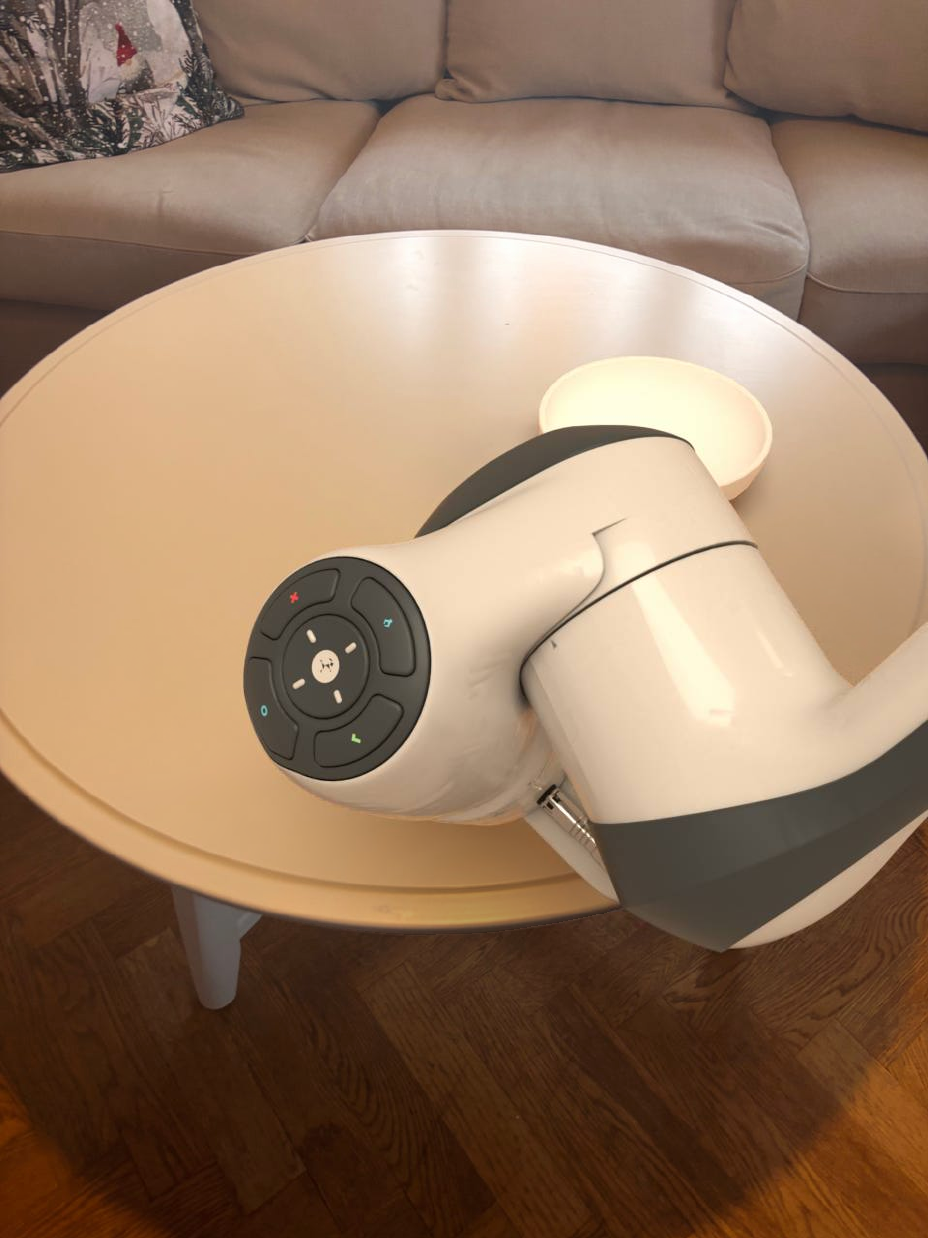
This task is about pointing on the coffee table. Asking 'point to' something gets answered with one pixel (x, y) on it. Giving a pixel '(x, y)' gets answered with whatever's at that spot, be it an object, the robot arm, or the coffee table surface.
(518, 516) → the robot arm
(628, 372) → the bowl
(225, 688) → the coffee table surface
